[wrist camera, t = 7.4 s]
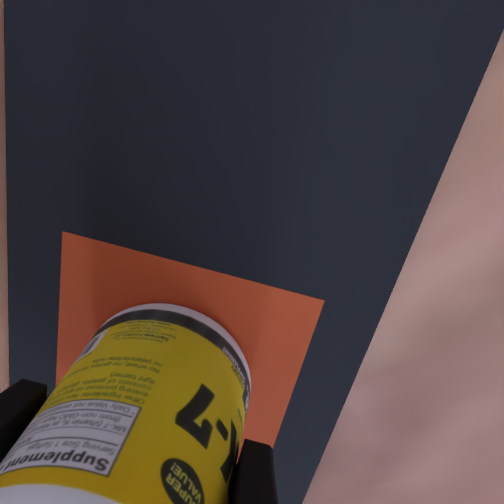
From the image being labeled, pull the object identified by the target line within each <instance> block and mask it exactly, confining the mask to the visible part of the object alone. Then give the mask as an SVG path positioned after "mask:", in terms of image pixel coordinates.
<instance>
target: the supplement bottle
mask: <svg viewBox="0 0 504 504" xmlns="http://www.w3.org/2000/svg"><path fill="white" fill-rule="evenodd" d="M250 392H251V377H250V371H249V367H248V364H247V361H246V359H245V357H244V355H243V353H242V351H241V349H240V347H239V346H238V344H237V343H236V341H235V340H234V339H233V337H232V336H231V335H230V334H229V333H228V332H227V331H226V330H225V329H224V328H223V327H222V326H221V325H220V324H218V323H217V322H215V321H214V320H212V319H211V318H209V317H207V316H206V315H204V314H202V313H199V312H197V311H195V310H192V309H189V308H186V307H183V306H178V305H173V304H164V303H151V304H144V305H139V306H135V307H131V308H128V309H126V310H123V311H121V312H119V313H117V314H116V315H114V316H113V317H111V318H110V319H108V320H107V321H106V322H105V323H104V324H103V325H102V326H101V327H100V329H99V330H98V331H97V332H96V333H95V335H94V336H93V338H92V339H91V340H90V342H89V343H88V344H87V346H86V347H85V349H84V350H83V351H82V353H81V354H80V355H79V357H78V358H77V360H76V361H75V362H74V363H73V365H72V366H71V367H70V369H69V370H68V372H67V373H66V374H65V376H64V377H63V378H62V380H61V381H60V382H59V384H58V385H57V387H56V388H55V389H54V391H53V392H52V393H51V395H50V396H49V397H48V399H47V400H46V402H45V403H44V404H43V406H42V407H41V408H40V410H39V411H38V413H37V414H36V415H35V417H34V418H33V419H32V421H31V422H30V424H29V425H28V426H27V428H26V429H25V430H24V432H23V433H22V435H21V436H20V437H19V439H18V440H17V441H16V443H15V444H14V445H13V447H12V448H11V450H10V451H9V452H8V454H7V455H6V456H5V458H4V459H3V460H2V462H1V463H0V504H229V501H230V495H231V491H232V486H233V480H234V475H235V470H236V464H237V460H238V455H239V449H240V444H241V439H242V434H243V429H244V424H245V420H246V416H247V411H248V405H249V399H250Z"/></svg>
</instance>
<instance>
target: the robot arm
mask: <svg viewBox="0 0 504 504" xmlns="http://www.w3.org/2000/svg"><path fill="white" fill-rule="evenodd" d="M46 400H47V385H46V384H42V383H38V382H34V381H31V380H27V379H21V380H19V381H17V382H16V383H14V384H13V385H12V386H10V387H9V388H7V389H6V390H4V391H3V392H2V393H0V463H1V462H2V460H3V459H4V458H5V456H6V455H7V454H8V452H9V451H10V450H11V448H12V447H13V445H14V444H15V443H16V441H17V440H18V439H19V437H20V436H21V435H22V433H23V432H24V430H25V429H26V428H27V426H28V425H29V424H30V422H31V421H32V419H33V418H34V417H35V415H36V414H37V413H38V411H39V410H40V408H41V407H42V406H43V404H44V403H45V402H46ZM229 504H279V502H278V495H277V489H276V481H275V473H274V461H273V449H272V447H271V446H270V445H268V444H264V443H260V442H257V441H253V440H249V439H244V442H243V446H242V449H241V452H240V455H239V459H238V462H237V465H236V470H235V475H234V480H233V486H232V491H231V495H230V501H229Z"/></svg>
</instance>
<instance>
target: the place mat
mask: <svg viewBox="0 0 504 504" xmlns="http://www.w3.org/2000/svg"><path fill="white" fill-rule="evenodd" d="M503 29H504V0H4V45H5V111H6V178H7V244H8V311H9V378H10V386H12V385H13V384H14V383H16V382H17V381H19V380H21V379H27V380H31V381H34V382H38V383H42V384H46V385H47V399H48V397H49V396H50V395H51V393H52V392H53V391H54V389H55V388H56V387H57V385H58V384H59V382H60V381H61V380H62V378H63V377H64V376H65V374H66V373H67V372H68V370H69V369H70V367H71V366H72V365H73V363H74V362H75V361H76V360H77V358H78V357H79V355H80V354H81V353H82V351H83V350H84V349H85V347H86V346H87V344H88V343H89V342H90V340H91V339H92V338H93V336H94V335H95V333H96V332H97V331H98V330H99V329H100V327H101V326H102V325H103V324H104V323H105V322H106V321H107V320H108V319H110V318H111V317H113V316H114V315H116V314H117V313H119V312H121V311H123V310H126V309H128V308H131V307H135V306H139V305H144V304H151V303H164V304H173V305H178V306H183V307H186V308H189V309H192V310H195V311H197V312H199V313H202V314H204V315H206V316H207V317H209V318H211V319H212V320H214V321H215V322H217V323H218V324H220V325H221V326H222V327H223V328H224V329H225V330H226V331H227V332H228V333H229V334H230V335H231V336H232V337H233V339H234V340H235V341H236V343H237V344H238V346H239V347H240V349H241V351H242V353H243V355H244V357H245V359H246V361H247V364H248V367H249V371H250V377H251V392H250V399H249V405H248V411H247V416H246V420H245V424H244V429H243V434H242V439H241V444H240V449H239V455H240V452H241V449H242V446H243V442H244V439H249V440H253V441H257V442H260V443H264V444H268V445H270V446H271V447H272V449H273V461H274V473H275V481H276V489H277V495H278V502H279V504H302V502H303V499H304V497H305V495H306V492H307V490H308V488H309V485H310V483H311V481H312V478H313V476H314V473H315V471H316V469H317V466H318V464H319V462H320V459H321V457H322V455H323V452H324V450H325V448H326V445H327V443H328V441H329V438H330V436H331V434H332V431H333V429H334V426H335V424H336V422H337V419H338V417H339V415H340V412H341V410H342V408H343V405H344V403H345V401H346V398H347V396H348V394H349V391H350V389H351V386H352V384H353V382H354V379H355V377H356V375H357V372H358V370H359V368H360V365H361V363H362V361H363V358H364V356H365V354H366V351H367V349H368V347H369V344H370V342H371V339H372V337H373V335H374V332H375V330H376V328H377V325H378V323H379V321H380V318H381V316H382V314H383V311H384V309H385V307H386V304H387V302H388V299H389V297H390V295H391V292H392V290H393V288H394V285H395V283H396V281H397V278H398V276H399V274H400V271H401V269H402V267H403V264H404V262H405V260H406V257H407V255H408V252H409V250H410V248H411V245H412V243H413V241H414V238H415V236H416V234H417V231H418V229H419V227H420V224H421V222H422V220H423V217H424V215H425V213H426V210H427V208H428V205H429V203H430V201H431V198H432V196H433V194H434V191H435V189H436V187H437V184H438V182H439V180H440V177H441V175H442V173H443V170H444V168H445V165H446V163H447V161H448V158H449V156H450V154H451V151H452V149H453V147H454V144H455V142H456V140H457V137H458V135H459V133H460V130H461V128H462V126H463V123H464V121H465V118H466V116H467V114H468V111H469V109H470V107H471V104H472V102H473V100H474V97H475V95H476V93H477V90H478V88H479V86H480V83H481V81H482V79H483V76H484V74H485V71H486V69H487V67H488V64H489V62H490V60H491V57H492V55H493V53H494V50H495V48H496V46H497V43H498V41H499V39H500V36H501V34H502V31H503ZM239 455H238V459H239ZM237 462H238V460H237ZM236 465H237V464H236Z"/></svg>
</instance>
